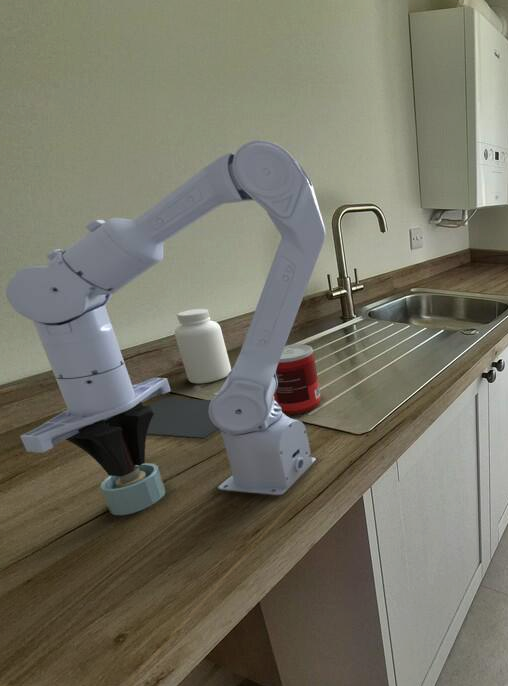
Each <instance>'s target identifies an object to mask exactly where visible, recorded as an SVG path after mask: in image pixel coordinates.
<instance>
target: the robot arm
mask: <svg viewBox="0 0 508 686" xmlns="http://www.w3.org/2000/svg"><path fill="white" fill-rule="evenodd" d="M315 192H316V191H315V188H314V184H313V182H312V181H311V178H309V176H308V174H307V173H306V171H305V170H304V168H303V166H302V165H301V164H300V162H299V161H298V160H297V159H296V158H295V157H293V156H292V154H291V153H290V152H289V151H287V150H286V149H285V148H284V147H282V146H281V145H279V144H278V143H275V142H272V141H270V140H263V139H257V140H256V139H255V140H250V141H248V142H245V143H244V144H242V145H241V146H240V147H239V148H238V149H237V150H236V151H235V153H232V152H229V153H225V154H224V155H222V156H219V157H217V158H216V159H215V160H213V161H212V162H210V163H209V164H208V165H206V166H204V167H203V168H201V170H199V171H197V172H196V173H195V174H194V175H192V176H190V177H189V178H188V179H187V180H186V181H184V182H183V183H182V184H180V185H179V186H178V187H176V188H175V189H174V190H172V191H171V192H169V193H168V194H167V195H166V196H164V197H163V198H162V199H160V200H159V201H157V202H156V203H155V204H153V205H152V206H151V207H150V208H149V209H147V210H146V211H144V212H143V213H141V214H140V215H139V216H138V217H136V218H134V219H127V218H122V217H111V218H109V219H107V220H106V221H105V220H104V219H95V220H92V221H91V222H89V223H88V224H87V225H85V228H86V230H88V231H89V232H88V233H87V234H85V235H84V236H82V237H81V238H79V239H78V240H76V241H75V242H73V243H72V244H71V245H69V246H67V247H66V248H64V249H61V248H57V249H53V250H52V251H50V252H49V253H47V254H46V258H48V259H49V262H48V265H47V264H46V265H34V266H28V267H23V268H20V269H18V271H17V272H16V274H15V275H14V276H13V277H11V279H10V280H9V281H8V283H7V286H6V289H5V291H6V292H5V295H6V298H7V301H8V303H9V304H10V306H11V307H12V308H13V309H14V310H15V311H16V312H17V313H18V314H19V315H21V316H22V317H24V318H26V319H28V320H31V321H32V322H33V325H34V328H35V331H36V332H37V335H38V338H39V340H40V342H41V346H42V347H43V351H44V353H45V355H46V358H47V360H48V364H49V365H50V368H51V370H52V373H53V375H54V378H55V381H56V382H57V385H58V389H59V390H60V393H61V395H62V398H63V400H64V404H65V405H66V408H67V409H65V410H64V411H62V412H61V413H59V414H58V415H56V416H54V417H53V418H51V419H49V420H48V421H45V422H44V423H43V424H41V425H39V426H37V427H36V428H34V429H32V430H30V431H28V432H26V433H23V434H21V435H20V436H19V437H20V440H21V442H22V444H23V446H24V449H25V450H26V452H28V453H36V454H37V453H40V454H44V453H46V452H48V451H50V450H53V449H54V445H56V444H59V443H61V442H62V441H65V440H66V441H68V442H70V443H71V444H73V445H74V446H77V447H78V448H80V449H81V450H82V451H84V452H85V453H87V454H88V455H89V456H90V457H92V458H93V460H94V461H96V462H97V463H98V464H99V465H100V467H101V468H102V469H103V470H104V471H105V473H107V475H108V476H124V475H126V474H127V473H128V466H127V463H126V460H125V457H124V454H123V451H122V443H121V433H122V429H123V432H124V435H125V437H126V440H127V443H128V446H129V449H130V451H131V454H132V457H133V460H134V462H135V465H142V464H144V463H146V442H147V436H148V434H147V431H148V427H149V424H150V422H151V419H152V417H153V415H154V411H153V408H152V407H151V406H148V405H143V403H144V402H146V401H149V400H150V399H152V398H155V397H157V396H159V395H166V394H168V393H170V392H171V387H170V384H169V381H168V378H166V377H152V378H149V379H147V380H145V381H142V382H139V383H136V384H132V381H131V378H130V375H129V372H128V368H127V366H126V362H125V360H124V357H123V354H122V352H121V348H120V345H119V343H118V339H117V336H116V334H115V330H114V327H113V325H112V323H111V320H110V316H109V314H108V310H107V304H108V303H109V301H110V300H111V298H112V295H113V294H115V293H117V292H118V291H120V290H122V289H123V288H125V287H126V286H127V285H128V284H130V283H131V282H133V281H134V280H136V279H137V278H138V277H140V276H142V275H143V274H144V273H145V272H147V271H149V270H150V269H151V268H153V267H154V266H156V265H158V264H159V263H161V262H162V261H163V259H164V244H165V242H167V241H168V240H170V239H172V238H173V237H175V236H177V235H178V234H179V233H181V232H182V231H184V230H185V229H187V228H189V227H190V226H192V225H193V224H195V223H196V222H198V221H200V220H201V219H203V218H205V217H206V216H208V215H209V214H210V213H212V212H213V211H215V210H217V209H218V208H220V207H222V206H223V205H226V204H233V203H234V204H235V203H242V202H253V201H254V202H255V203H256V204H258V205H259V206H260V207H262V209H264V211H266V214H267V215H268V217H269V218H270V220H271V222H272V223H273V224H274V226H275V228H276V229H277V231H278V233H279V234H280V241H279V243H278V247H277V249H276V252H275V255H274V258H273V260H272V263H271V266H270V267H269V271H268V274H267V277H266V280H265V283H264V285H263V288H262V290H261V293H260V296H259V299H258V302H257V305H256V307H255V311H254V313H253V315H252V318H251V321H250V324H249V327H248V330H247V332H246V334H245V338H244V341H243V343H242V346H241V349H240V352H239V354H238V357H237V359H236V361H235V363H234V366H233V368H231V371H230V372H229V374H228V376H227V377H225V379H224V380H225V381H224V383H223V384H222V386H221V387H220V389H219V390H218V392H217V393H216V394H215V396H213V397H212V398H211V402H210V405H209V410H208V411H209V417H210V419H211V421H212V422H213V424H214V425H215V426H217V427H218V428H219V429H218V430H220V434H221V438H222V441H223V445H224V449H225V452H226V456H227V460H228V463H229V464H228V465H229V468H230V471H231V475H230V476H229V477H228V478H226V479H225V480H224V481H223V482H221V484H219V486H217V489H218V490H219V491H226V492H237V493H238V492H239V493H247V494H248V493H250V494H258V495H259V494H260V495H270V496H283V495H284V494H285V493H286V492H287V491H288V490H289V489H290V488H291V487H292V486H293V485H294V484H295V483H296V482H297V481H298V480H299V478H300V477H301V476H302V475H304V473H305V472H306V471H307V470H308V469H309V468H310V467H311V466H312V465H314V463H315V462H316V460H317V459H316V457H314V456H313V457H312V452H311V448H310V447H311V446H310V442H309V436H308V430H307V428H306V425H305V424H304V423H303V421H301V420H298V419H294V418H291V417H289V416H287V414H284V413H282V410H281V407H280V406H279V404H278V403H277V402H276V401H275V398H274V393H275V392H276V389H277V386H278V380H277V376H276V369H277V365H278V363H279V360H280V357H281V355H282V352H283V349H284V347H285V346H286V344H287V342H288V338H289V336H290V334H291V331H292V329H293V326H294V323H295V320H296V317H297V315H298V312H299V310H300V307H301V304H302V301H303V298H304V296H305V293H306V292H307V291H306V290H307V288H308V286H309V282H310V280H311V277H312V275H313V271H314V269H315V266H316V264H317V262H318V260H319V259H318V258H319V257H320V256H319V255H320V254H321V251H322V248H323V245H324V242H325V240H326V235H327V232H326V226H325V223H324V220H323V216H322V212H321V210H320V207H319V202H318V200H317V196H316V193H315ZM114 426H121V427H122V428H121V427H114Z"/></svg>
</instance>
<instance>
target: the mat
mask: <svg viewBox="0 0 508 686" xmlns="http://www.w3.org/2000/svg"><path fill="white" fill-rule="evenodd" d="M211 400H212V399H211ZM211 400H210V399H209V400H207V399H193V398H176V397H162V398H160V399H158V400H157V401H153V402H152V403H150V404H148V405H147V406H151V407H152V408H153V411H154V415H153V417H152V419H151V422H150V424H149V427H148V431H147V435H150V436H163V437H164V436H165V437H175V438H176V437H179V438H192V439H206V438H208V437H210V436H211V435H212V434H214V433H215V432H217V431H218V430H220V429H219V428H218V427H217V426H215V425H214V424H213V422H212V421H211V419H210V417H209V411H208V410H209V405H210V402H211Z"/></svg>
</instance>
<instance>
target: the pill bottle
mask: <svg viewBox="0 0 508 686" xmlns="http://www.w3.org/2000/svg"><path fill="white" fill-rule="evenodd" d="M210 316H211V315H210V312H209V309H207V308H194V309H189V310H184V311H180V312H179V313H177V314H176V317H177V320H178V322H179V324H180V325H179V326H178V327H176V329H175V330H174V337H175V340H176V344H177V347H178V351H179V354H180V357H181V361H182V364H183V367H184V371H185V374H186V378H187V379H188V381H189V382H190V383H192V384H208V383H212V382H217V381H221V380H222V379H226V378H227V376H228V374H229V372H230V371H231V370H232V366H231V363H230V359H229V354H228V352H227V347H226V343H225V339H224V335H223V332H222V328H221V326H220V324H219V323H218V322H217V321H213V320H211V319H212V318H211V317H210Z"/></svg>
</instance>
